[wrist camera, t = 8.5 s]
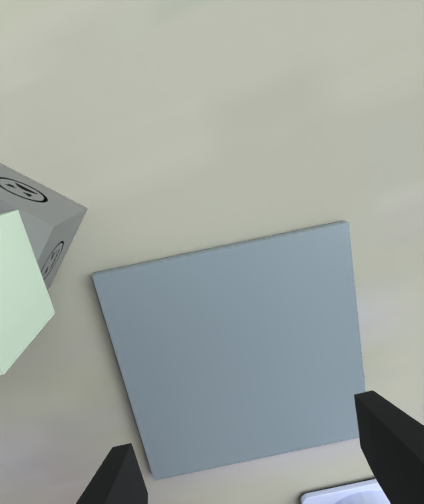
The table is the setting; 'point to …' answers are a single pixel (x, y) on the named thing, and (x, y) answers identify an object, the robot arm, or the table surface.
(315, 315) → the plate
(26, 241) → the sage brick
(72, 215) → the dice cube
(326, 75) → the table surface
